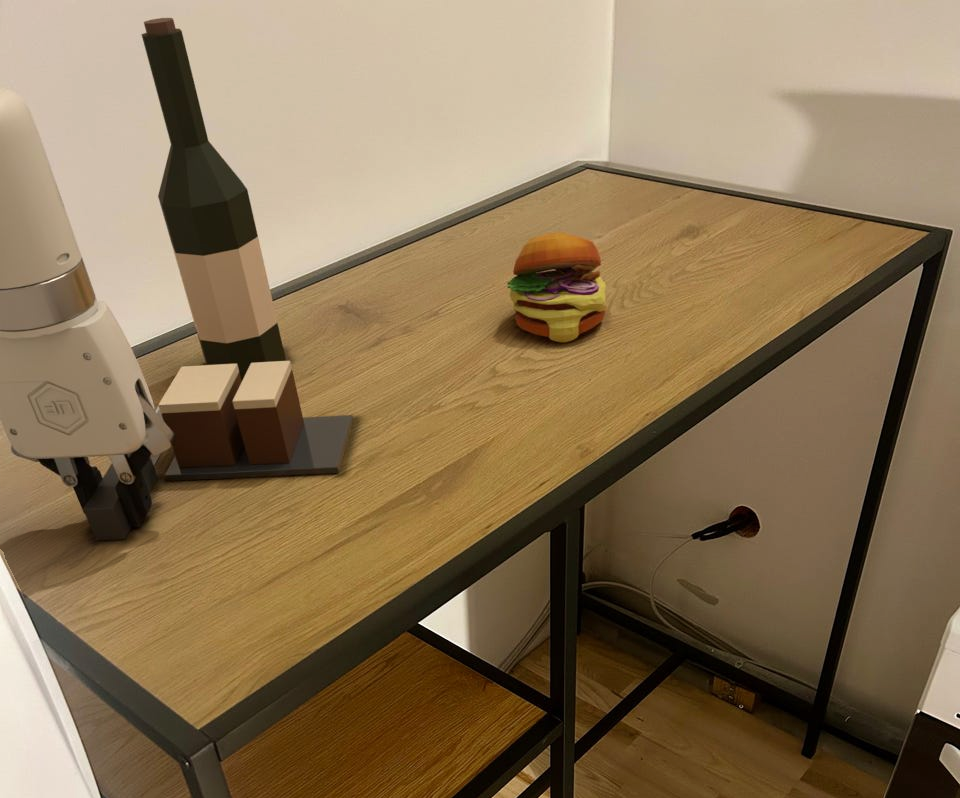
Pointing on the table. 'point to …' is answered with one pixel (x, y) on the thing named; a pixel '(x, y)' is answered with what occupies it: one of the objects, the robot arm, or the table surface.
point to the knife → (114, 503)
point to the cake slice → (269, 412)
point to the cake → (204, 415)
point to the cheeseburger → (558, 287)
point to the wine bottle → (209, 220)
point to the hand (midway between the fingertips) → (122, 517)
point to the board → (311, 455)
